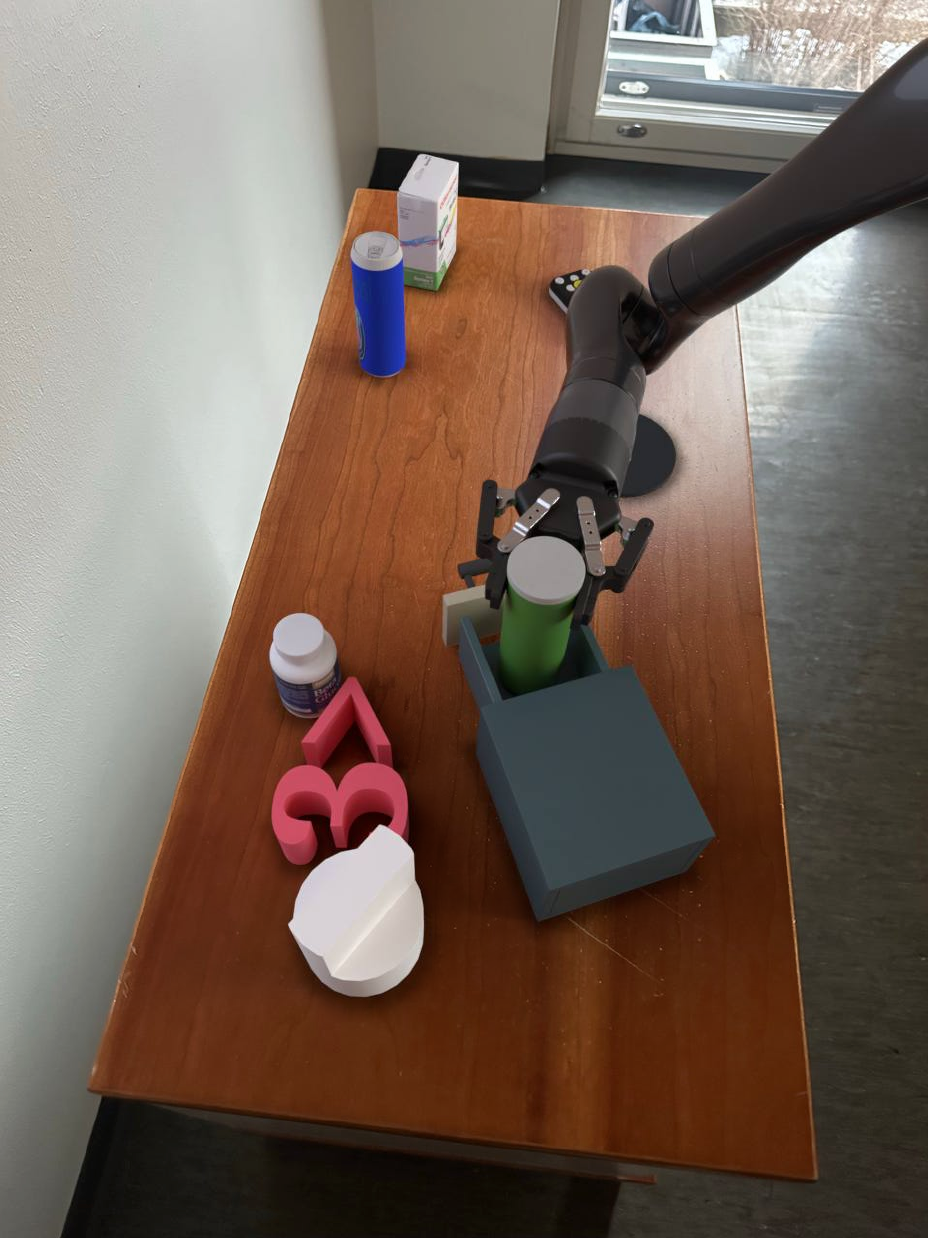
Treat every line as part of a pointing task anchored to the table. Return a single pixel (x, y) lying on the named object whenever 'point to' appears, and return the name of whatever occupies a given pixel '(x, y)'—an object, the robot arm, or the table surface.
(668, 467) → the mat
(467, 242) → the table surface
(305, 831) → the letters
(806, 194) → the robot arm
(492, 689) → the drawer
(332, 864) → the cylinder with rectangular tab
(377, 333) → the beverage can
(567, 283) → the remote control
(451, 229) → the ink box
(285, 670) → the pill bottle
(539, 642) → the chip tube
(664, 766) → the cabinet
